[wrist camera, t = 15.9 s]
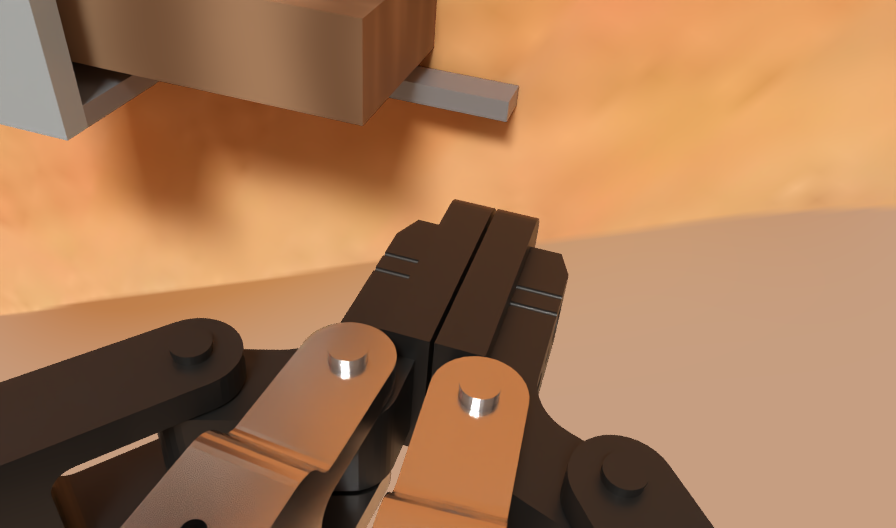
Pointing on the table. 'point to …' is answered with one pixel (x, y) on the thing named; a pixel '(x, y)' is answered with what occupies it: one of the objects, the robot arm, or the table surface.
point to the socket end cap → (52, 75)
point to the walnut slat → (260, 47)
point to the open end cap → (458, 93)
